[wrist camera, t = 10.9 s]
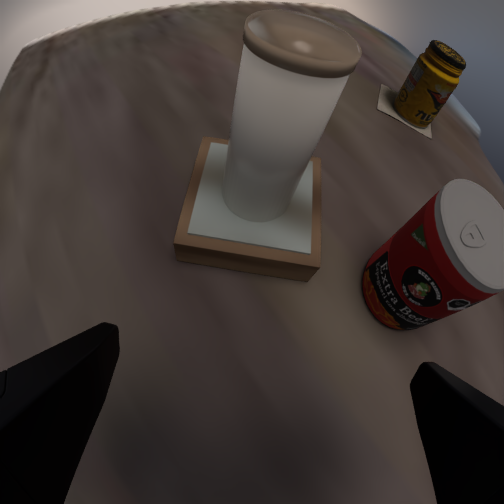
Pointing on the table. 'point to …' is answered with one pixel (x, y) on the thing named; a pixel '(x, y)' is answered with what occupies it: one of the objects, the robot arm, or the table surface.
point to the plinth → (248, 224)
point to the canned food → (439, 259)
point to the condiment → (424, 88)
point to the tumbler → (282, 107)
